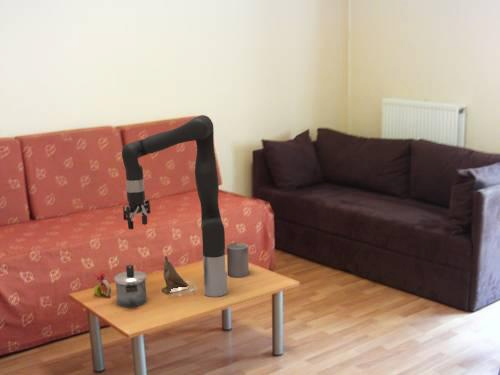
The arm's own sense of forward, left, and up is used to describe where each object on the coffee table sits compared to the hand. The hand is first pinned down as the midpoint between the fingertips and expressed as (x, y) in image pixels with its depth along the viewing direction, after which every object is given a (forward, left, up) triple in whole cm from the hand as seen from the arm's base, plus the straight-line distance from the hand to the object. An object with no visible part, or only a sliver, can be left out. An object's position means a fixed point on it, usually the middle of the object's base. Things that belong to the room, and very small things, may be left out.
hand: (138, 226), depth 302 cm
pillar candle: (-44, -7, -28) cm, 53 cm away
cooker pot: (+5, +14, -28) cm, 32 cm away
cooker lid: (+5, +14, -18) cm, 23 cm away
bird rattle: (+16, +3, -28) cm, 33 cm away
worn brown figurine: (-14, +5, -28) cm, 32 cm away
